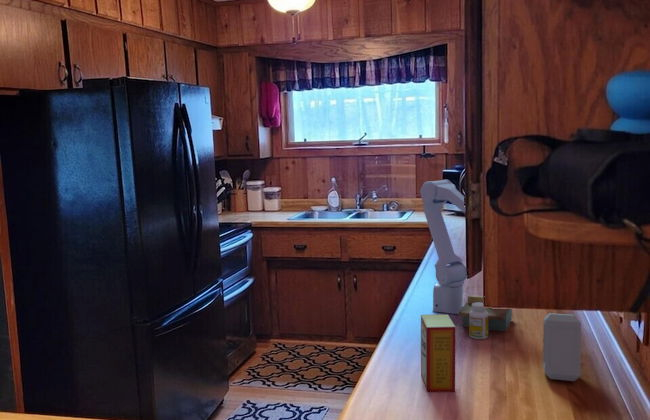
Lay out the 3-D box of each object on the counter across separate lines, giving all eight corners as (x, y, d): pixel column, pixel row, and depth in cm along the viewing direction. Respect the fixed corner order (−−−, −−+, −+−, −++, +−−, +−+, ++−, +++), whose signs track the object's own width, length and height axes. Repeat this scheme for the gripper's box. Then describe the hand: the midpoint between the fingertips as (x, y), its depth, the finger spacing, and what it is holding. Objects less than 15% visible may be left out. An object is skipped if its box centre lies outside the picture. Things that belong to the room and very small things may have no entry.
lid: (458, 315, 177) (458, 304, 176) (466, 305, 187) (466, 294, 186) (503, 320, 171) (504, 309, 170) (509, 309, 181) (510, 298, 180)
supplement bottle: (481, 331, 175) (481, 300, 174) (491, 337, 170) (492, 305, 169) (465, 334, 174) (465, 302, 172) (475, 340, 169) (475, 308, 167)
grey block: (538, 308, 168) (545, 314, 140) (568, 310, 166) (580, 316, 138) (538, 362, 167) (544, 379, 138) (567, 365, 165) (580, 382, 136)
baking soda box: (421, 375, 146) (420, 313, 144) (447, 375, 146) (447, 312, 144) (426, 392, 136) (426, 326, 134) (455, 391, 136) (455, 325, 134)
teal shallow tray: (462, 325, 181) (462, 311, 181) (470, 315, 191) (470, 302, 191) (505, 331, 176) (506, 316, 175) (511, 320, 186) (511, 306, 185)
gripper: (501, 264, 174) (501, 309, 175) (509, 255, 186) (508, 296, 188) (477, 263, 177) (477, 306, 178) (486, 253, 190) (486, 294, 191)
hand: (491, 301), depth 184 cm, fingers closed
